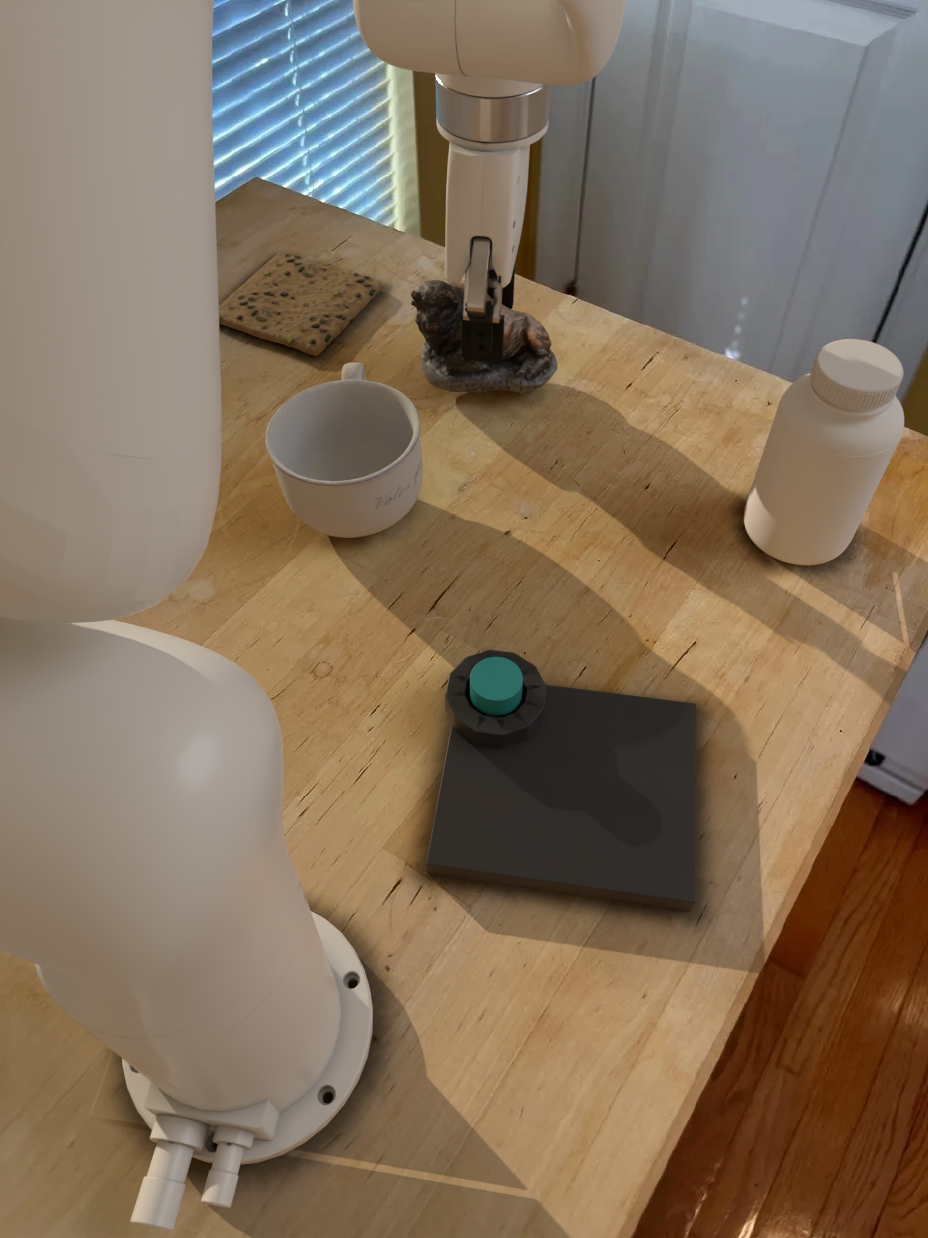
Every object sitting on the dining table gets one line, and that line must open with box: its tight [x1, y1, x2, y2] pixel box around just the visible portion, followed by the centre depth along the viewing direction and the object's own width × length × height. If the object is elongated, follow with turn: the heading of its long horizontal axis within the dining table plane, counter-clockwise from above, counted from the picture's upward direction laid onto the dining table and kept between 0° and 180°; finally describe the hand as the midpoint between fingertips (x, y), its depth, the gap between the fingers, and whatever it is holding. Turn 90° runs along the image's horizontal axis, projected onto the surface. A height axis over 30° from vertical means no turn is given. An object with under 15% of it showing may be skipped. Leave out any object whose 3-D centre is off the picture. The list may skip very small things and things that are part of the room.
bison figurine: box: [410, 279, 558, 396], centre depth 76 cm, size 12×7×10 cm, turn 97°
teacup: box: [264, 361, 424, 539], centre depth 69 cm, size 14×11×8 cm
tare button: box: [470, 657, 523, 716], centre depth 57 cm, size 3×3×2 cm
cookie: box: [219, 252, 383, 357], centre depth 87 cm, size 12×12×1 cm
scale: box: [425, 649, 697, 912], centre depth 56 cm, size 14×16×3 cm
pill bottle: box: [743, 338, 905, 566], centre depth 64 cm, size 8×8×15 cm
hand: (488, 330), depth 76 cm, fingers closed on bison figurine, 6 cm apart
